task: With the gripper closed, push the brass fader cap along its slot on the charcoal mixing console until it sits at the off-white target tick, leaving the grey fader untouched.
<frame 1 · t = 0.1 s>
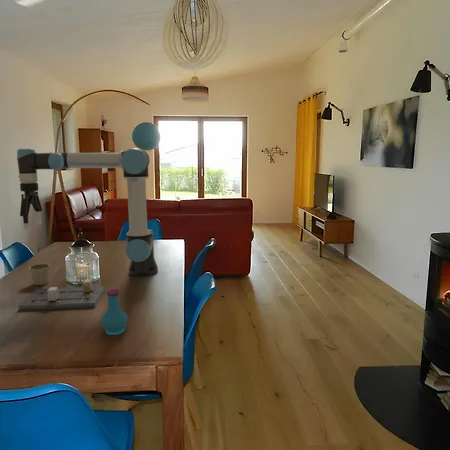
hand: (33, 227, 188), 28 cm above the table, fingers open, 13 cm apart
brass fader: (87, 285, 176), point 5 cm above the table, slide at 0.0 cm
grey fader: (53, 293, 166), point 5 cm above the table, slide at 12.0 cm
perfume bottle: (115, 331, 142), on the table
console: (64, 299, 172), on the table
flower pot: (41, 283, 194), on the table
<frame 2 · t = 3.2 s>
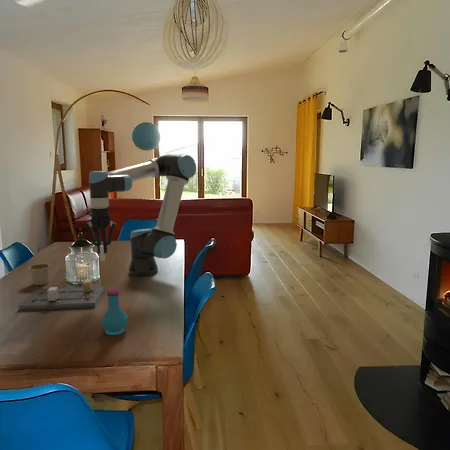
hand: (102, 260, 175), 16 cm above the table, fingers closed
nothing on the table moved.
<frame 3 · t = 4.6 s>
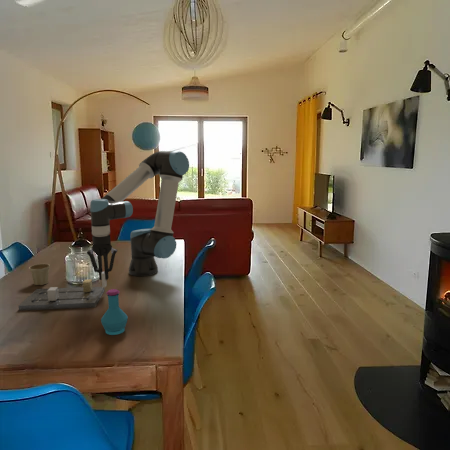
hand: (104, 286, 177), 4 cm above the table, fingers closed
nothing on the table moved.
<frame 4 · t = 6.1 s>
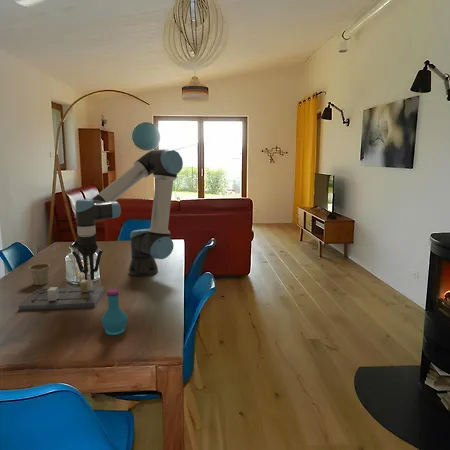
hand: (90, 286, 176), 4 cm above the table, fingers closed
brass fader: (85, 285, 176), point 5 cm above the table, slide at 1.2 cm, touching gripper
everything else where it was.
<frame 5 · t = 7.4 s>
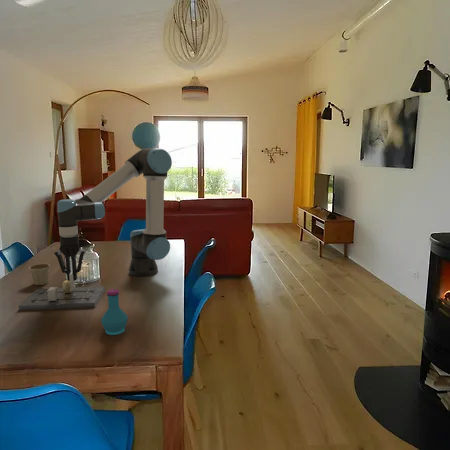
hand: (72, 287, 176), 4 cm above the table, fingers closed
brass fader: (67, 286, 175), point 5 cm above the table, slide at 8.7 cm, touching gripper
everything else where it was.
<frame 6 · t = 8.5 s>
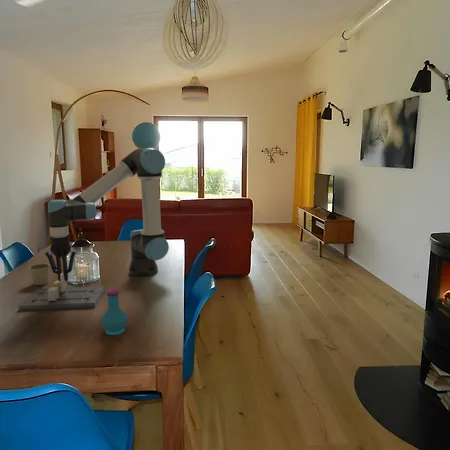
hand: (63, 287, 175), 4 cm above the table, fingers closed
brass fader: (58, 286, 175), point 5 cm above the table, slide at 12.5 cm, touching gripper
everything else where it was.
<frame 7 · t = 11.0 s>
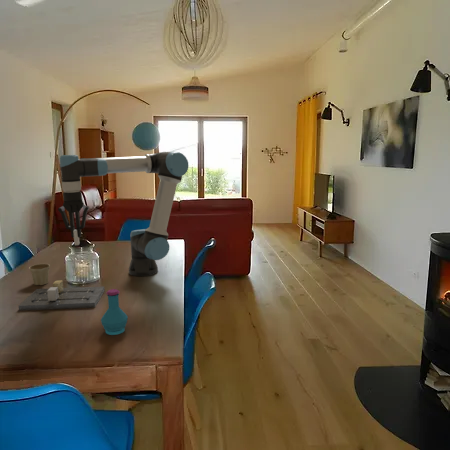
hand: (77, 244, 175), 23 cm above the table, fingers closed
brass fader: (58, 286, 175), point 5 cm above the table, slide at 12.7 cm
everything else where it was.
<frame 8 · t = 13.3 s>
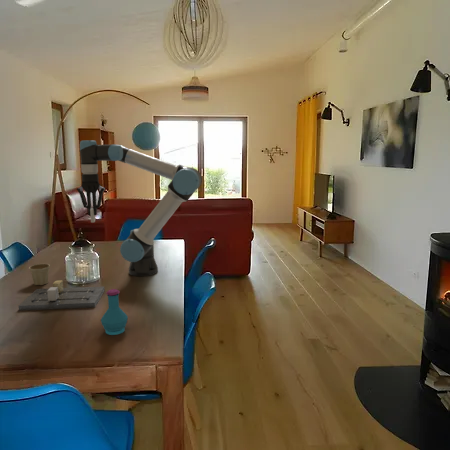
hand: (93, 221, 194), 29 cm above the table, fingers closed
nothing on the table moved.
at the end: brass fader slide at 12.7 cm; grey fader slide at 12.0 cm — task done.
